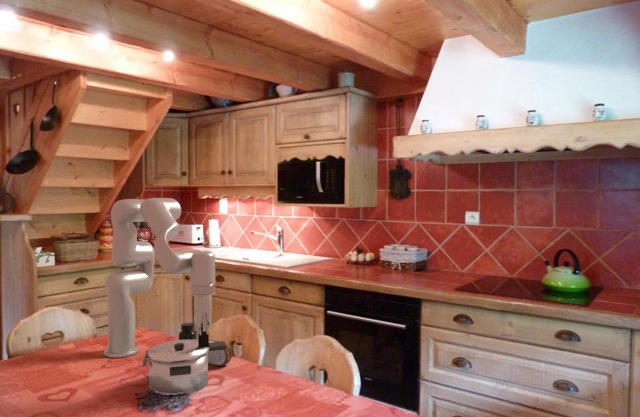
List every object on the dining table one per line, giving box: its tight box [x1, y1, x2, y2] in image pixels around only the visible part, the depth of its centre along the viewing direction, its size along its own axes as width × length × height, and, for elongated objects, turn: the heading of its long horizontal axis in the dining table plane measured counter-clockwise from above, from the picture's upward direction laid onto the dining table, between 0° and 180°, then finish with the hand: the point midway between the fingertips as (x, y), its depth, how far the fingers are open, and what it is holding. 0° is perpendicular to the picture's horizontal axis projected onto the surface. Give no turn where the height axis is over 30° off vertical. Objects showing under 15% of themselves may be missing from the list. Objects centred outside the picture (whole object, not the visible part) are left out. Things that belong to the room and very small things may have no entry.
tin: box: [208, 339, 232, 367], centre depth 168 cm, size 15×3×8 cm, turn 64°
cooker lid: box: [144, 339, 227, 363], centre depth 149 cm, size 19×25×3 cm
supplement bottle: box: [177, 321, 198, 340], centre depth 176 cm, size 7×7×12 cm
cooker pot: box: [142, 353, 209, 395], centre depth 148 cm, size 24×20×10 cm
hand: (203, 346), depth 150 cm, fingers closed
